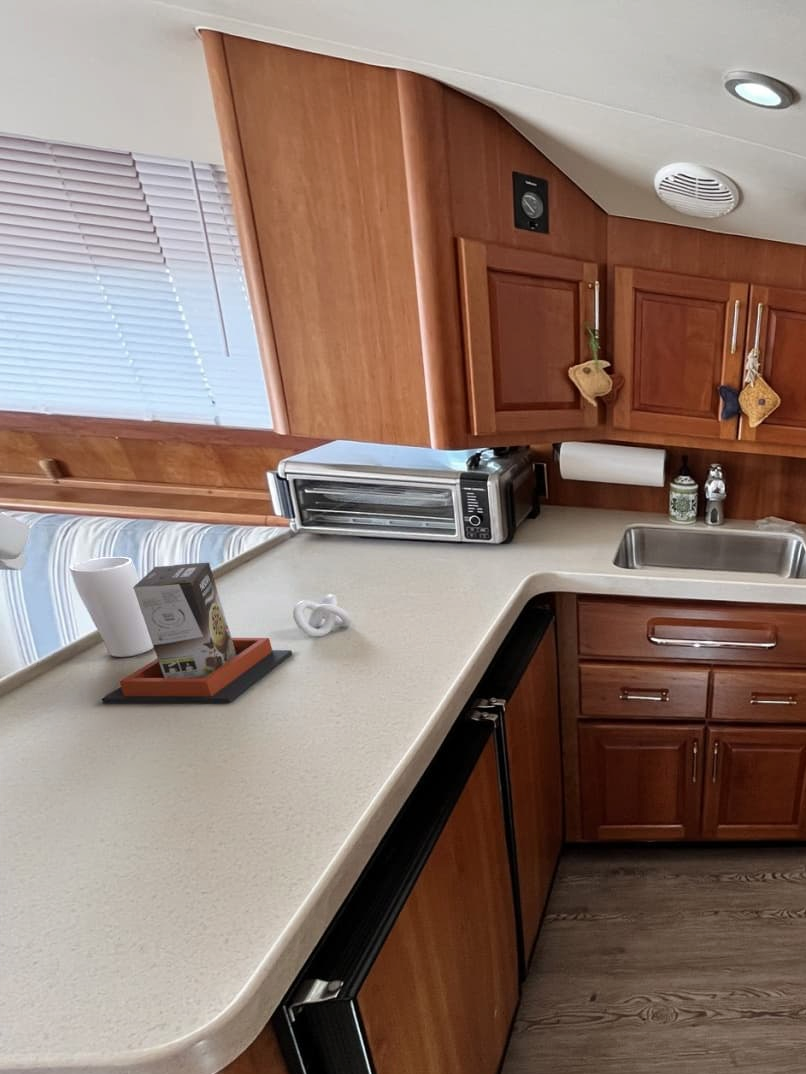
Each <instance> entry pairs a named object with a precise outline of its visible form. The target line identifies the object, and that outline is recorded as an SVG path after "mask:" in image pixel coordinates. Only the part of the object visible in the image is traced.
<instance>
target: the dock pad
mask: <svg viewBox="0 0 806 1074" xmlns="http://www.w3.org/2000/svg"><path fill="white" fill-rule="evenodd" d="M231 638H232V641H233V645H234V648H235V652H236V656H235V657H234V658H233V659H231V660H230V661H228V662H227V663H225V664H224V665H222V666H221V667H220V668H218V669H217V670H215V671H214V672H212V673H211V674H209V675H208V676H207V677H205V678H164V676H163V673H162V670H161V667H160V664H159V661H158V658H157V657H156V658H155V659H154V660H152V661H150V662H149V663H147V664H144V666H142V667H140V668H138V669H137V670H135V671H133V672H132V673H130V674H128V675H127V676H125V677H123V678H122V679H121V680H118V684H119V687H118V688H116V689H114V690H113V691H110V692H109V693H107V694H106V695H105V696H103V697H101V698H100V700H101V702H102V704H231V703H232V702H233V701H235V700H236V699H237V698H238V697H240V696H241V695H242V694H244V693H245V692H246V691H248V690H249V689H250V688H252V687H253V686H254V685H255V684H257V682H260V680H262V679H263V678H264V677H265V676H267V675H268V674H270V673H271V672H272V671H273V670H275V669H276V668H277V667H279V666H280V665H281V664H282V663H284V662H285V661H286V660H288V659H289V658H290V657H291V656H293V651H292V650H291V649H288V650H287V649H286V650H285V649H273V648H272V644H271V640H270V637H231Z"/></svg>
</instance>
